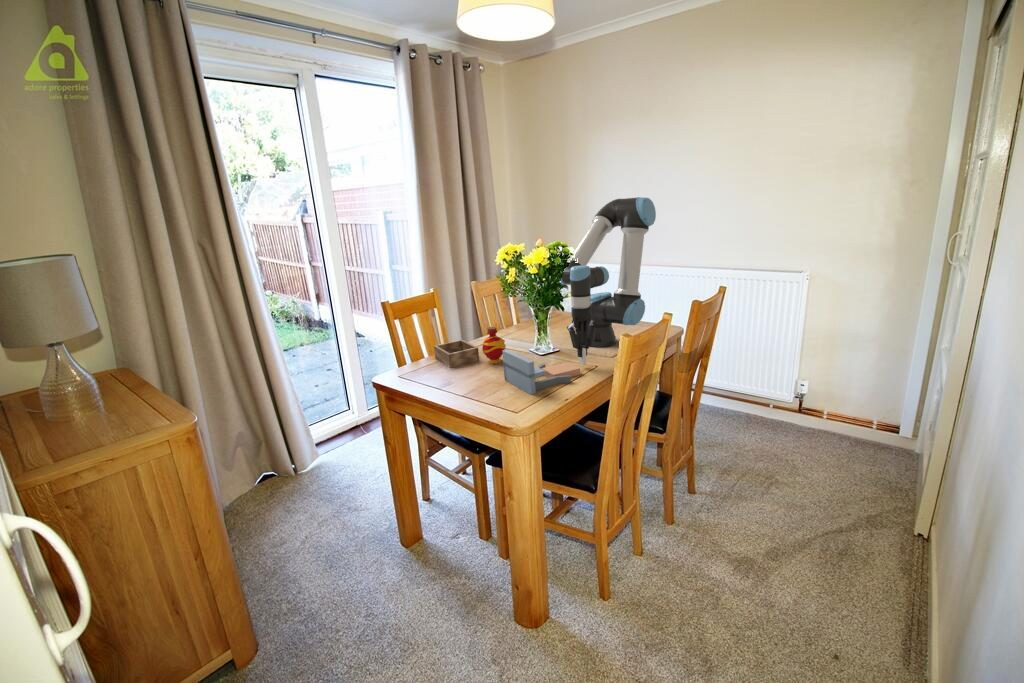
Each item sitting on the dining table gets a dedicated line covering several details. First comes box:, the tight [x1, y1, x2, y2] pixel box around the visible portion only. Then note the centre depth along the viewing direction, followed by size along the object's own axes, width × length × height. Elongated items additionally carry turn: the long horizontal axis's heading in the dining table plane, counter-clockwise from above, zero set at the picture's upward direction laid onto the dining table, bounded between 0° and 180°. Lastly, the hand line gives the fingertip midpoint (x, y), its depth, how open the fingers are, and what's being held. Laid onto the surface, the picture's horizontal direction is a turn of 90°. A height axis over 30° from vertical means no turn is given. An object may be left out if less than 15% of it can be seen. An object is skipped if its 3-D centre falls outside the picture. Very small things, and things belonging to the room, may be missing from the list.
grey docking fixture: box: [502, 348, 572, 396], centre depth 179 cm, size 18×19×12 cm
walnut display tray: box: [433, 339, 480, 369], centre depth 212 cm, size 14×17×6 cm
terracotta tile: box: [542, 361, 581, 379], centre depth 186 cm, size 12×9×3 cm
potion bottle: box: [482, 326, 507, 364], centre depth 205 cm, size 10×10×15 cm
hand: (582, 363), depth 190 cm, fingers closed
